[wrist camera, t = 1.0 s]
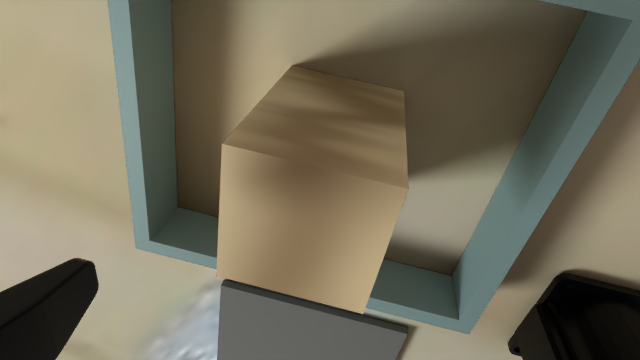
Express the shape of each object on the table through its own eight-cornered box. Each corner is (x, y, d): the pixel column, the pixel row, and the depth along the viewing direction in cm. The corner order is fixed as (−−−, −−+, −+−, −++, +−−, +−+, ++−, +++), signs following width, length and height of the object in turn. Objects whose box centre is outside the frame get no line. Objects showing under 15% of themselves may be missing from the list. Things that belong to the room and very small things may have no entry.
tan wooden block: (404, 91, 17) (408, 188, 10) (375, 185, 19) (362, 314, 13) (292, 65, 17) (221, 143, 10) (278, 162, 20) (216, 275, 13)
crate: (625, -13, 13) (678, -4, 11) (460, 289, 22) (469, 334, 19) (147, -112, 14) (93, -125, 12) (164, 214, 23) (135, 248, 20)
